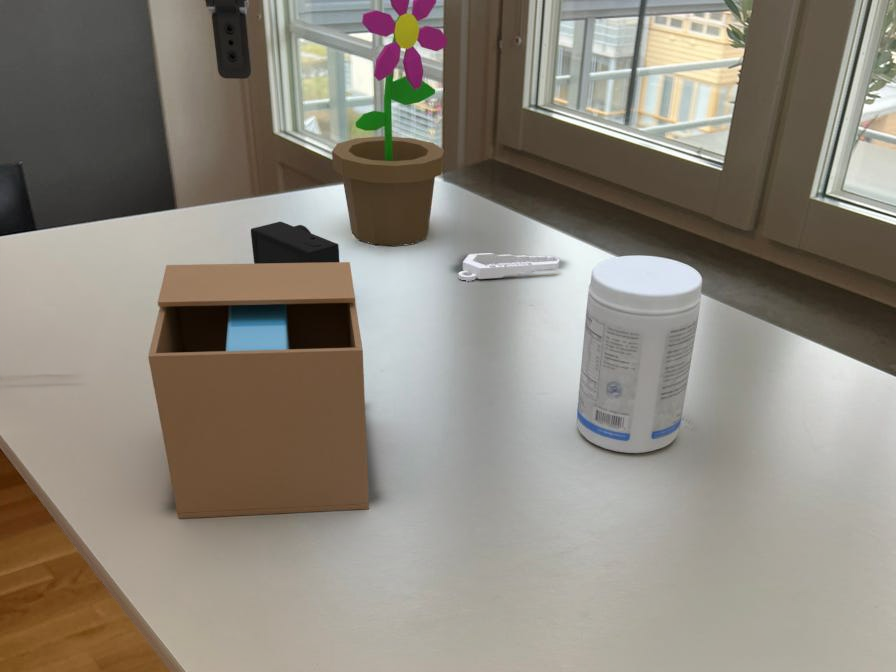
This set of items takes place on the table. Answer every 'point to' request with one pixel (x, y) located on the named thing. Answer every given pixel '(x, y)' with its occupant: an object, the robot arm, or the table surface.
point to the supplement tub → (637, 352)
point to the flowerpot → (393, 140)
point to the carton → (262, 413)
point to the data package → (257, 327)
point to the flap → (256, 284)
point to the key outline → (503, 265)
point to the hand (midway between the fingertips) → (235, 76)
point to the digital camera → (291, 245)
